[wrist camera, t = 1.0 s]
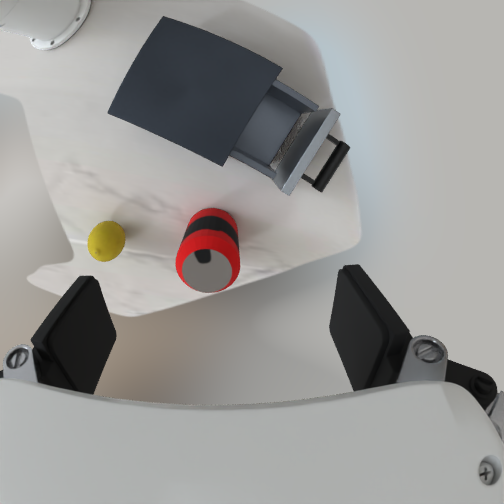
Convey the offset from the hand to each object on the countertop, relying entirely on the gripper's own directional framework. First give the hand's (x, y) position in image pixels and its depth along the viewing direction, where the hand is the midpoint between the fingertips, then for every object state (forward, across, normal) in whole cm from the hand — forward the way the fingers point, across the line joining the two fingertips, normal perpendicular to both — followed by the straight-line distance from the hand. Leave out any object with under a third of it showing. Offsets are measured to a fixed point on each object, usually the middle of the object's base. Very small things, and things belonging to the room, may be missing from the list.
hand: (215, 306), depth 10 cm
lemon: (+31, +19, +7) cm, 36 cm away
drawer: (+29, -6, -6) cm, 31 cm away
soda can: (+31, +3, +9) cm, 32 cm away
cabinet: (+30, +4, -12) cm, 33 cm away
